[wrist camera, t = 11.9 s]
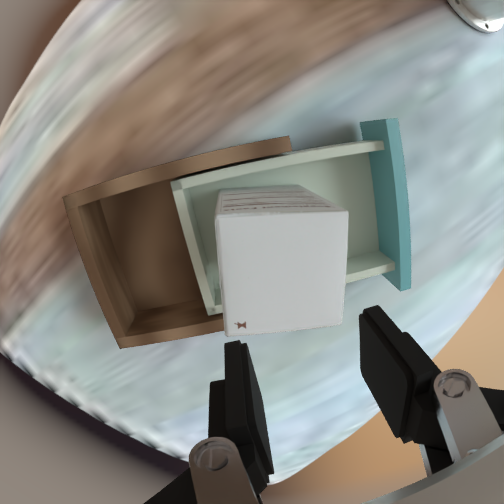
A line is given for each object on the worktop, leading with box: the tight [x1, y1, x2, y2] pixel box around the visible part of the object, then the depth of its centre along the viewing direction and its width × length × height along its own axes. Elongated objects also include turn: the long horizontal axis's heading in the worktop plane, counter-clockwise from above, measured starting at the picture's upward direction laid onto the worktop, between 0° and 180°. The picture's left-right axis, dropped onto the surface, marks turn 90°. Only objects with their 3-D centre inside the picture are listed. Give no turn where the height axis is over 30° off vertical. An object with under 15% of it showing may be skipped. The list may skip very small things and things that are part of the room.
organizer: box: [62, 136, 292, 349], centre depth 28 cm, size 19×15×6 cm
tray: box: [170, 118, 411, 315], centre depth 27 cm, size 19×16×5 cm
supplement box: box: [215, 184, 349, 337], centre depth 23 cm, size 7×7×13 cm
